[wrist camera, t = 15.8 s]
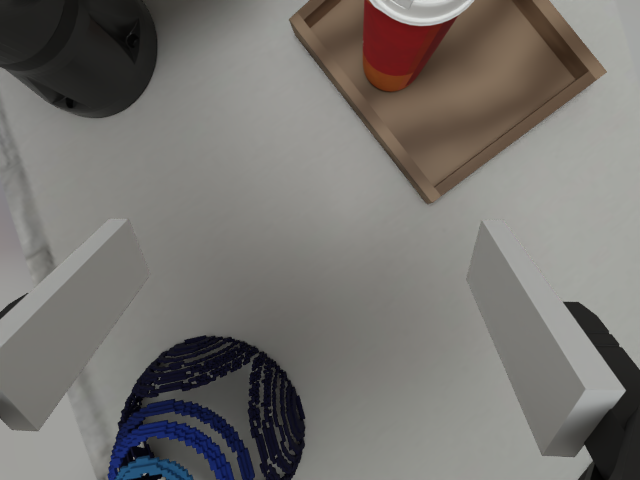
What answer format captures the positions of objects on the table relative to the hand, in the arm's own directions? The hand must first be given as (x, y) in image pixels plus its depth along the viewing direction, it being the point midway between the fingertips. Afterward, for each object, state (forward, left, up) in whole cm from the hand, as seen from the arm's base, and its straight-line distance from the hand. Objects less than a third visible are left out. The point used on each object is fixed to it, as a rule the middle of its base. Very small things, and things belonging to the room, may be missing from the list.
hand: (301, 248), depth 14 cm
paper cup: (-10, +13, -23) cm, 28 cm away
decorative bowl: (+9, -25, -24) cm, 36 cm away
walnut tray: (-8, +17, -24) cm, 30 cm away
